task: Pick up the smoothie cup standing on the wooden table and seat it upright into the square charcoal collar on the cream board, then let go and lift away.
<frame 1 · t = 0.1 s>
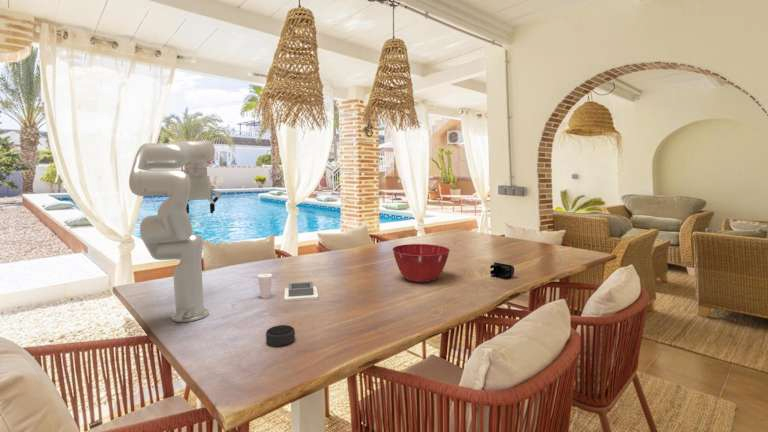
hand: (199, 213, 171), 37 cm above the table, tool pointing down, fingers open, 9 cm apart
mixing bowl: (420, 279, 202), on the table
socket board: (301, 294, 178), on the table
smart speaker: (280, 342, 129), on the table
end cap: (501, 277, 205), on the table
smoothie: (265, 297, 175), on the table
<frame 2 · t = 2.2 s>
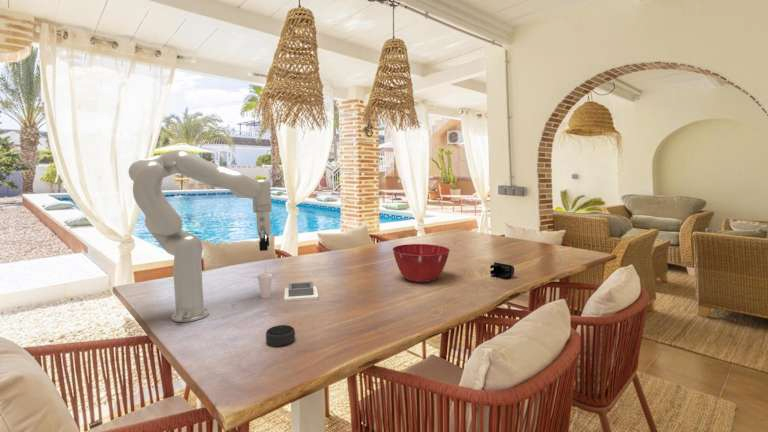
hand: (264, 248, 173), 21 cm above the table, tool pointing down, fingers open, 9 cm apart
nothing on the table moved.
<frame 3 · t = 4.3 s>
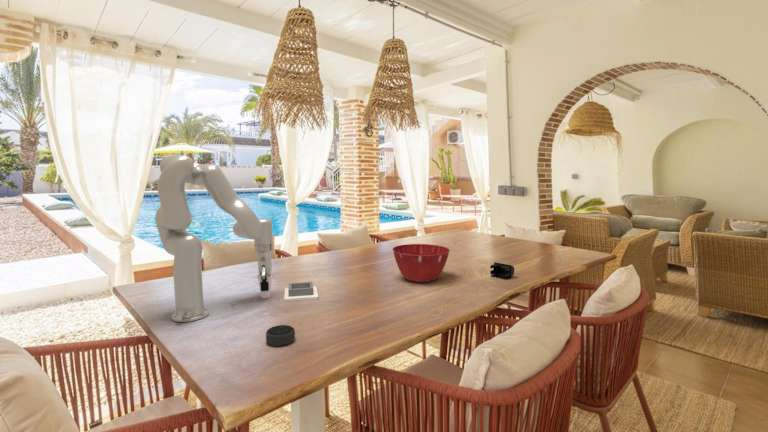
hand: (265, 288, 174), 4 cm above the table, tool pointing down, fingers closed on smoothie, 6 cm apart
smoothie: (265, 297, 175), on the table, touching gripper
everything else where it was.
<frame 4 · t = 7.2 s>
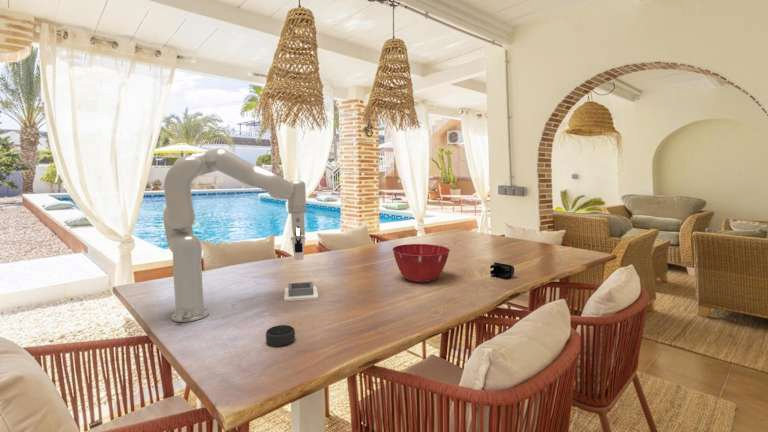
hand: (298, 250, 176), 20 cm above the table, tool pointing down, fingers closed on smoothie, 6 cm apart
smoothie: (298, 259, 176), point 16 cm above the table, touching gripper
everything else where it was.
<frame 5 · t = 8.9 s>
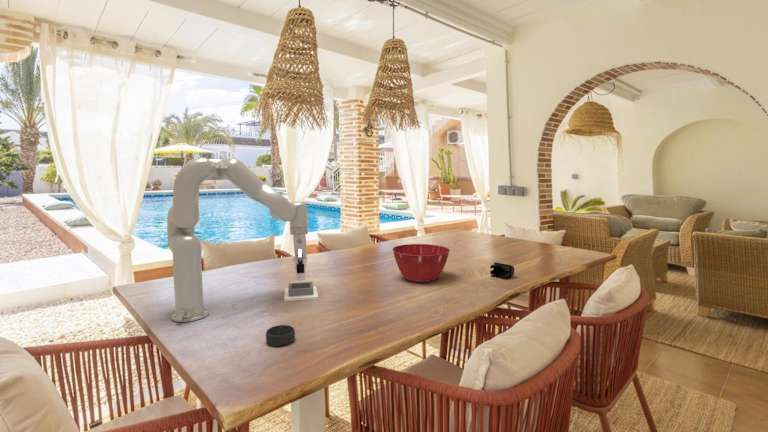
hand: (300, 270, 177), 11 cm above the table, tool pointing down, fingers closed on smoothie, 6 cm apart
smoothie: (300, 279, 177), point 7 cm above the table, touching gripper
everything else where it was.
when the fingers open (6 cm above the table, at t = 10.3 s): smoothie stays where it is, resting on socket board.
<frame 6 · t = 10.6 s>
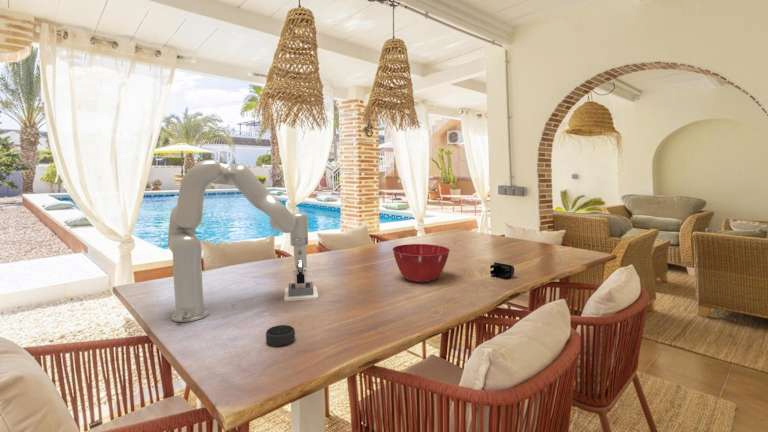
hand: (300, 280, 177), 6 cm above the table, tool pointing down, fingers open, 8 cm apart
smoothie: (300, 292, 178), point 1 cm above the table, touching socket board
everything else where it was.
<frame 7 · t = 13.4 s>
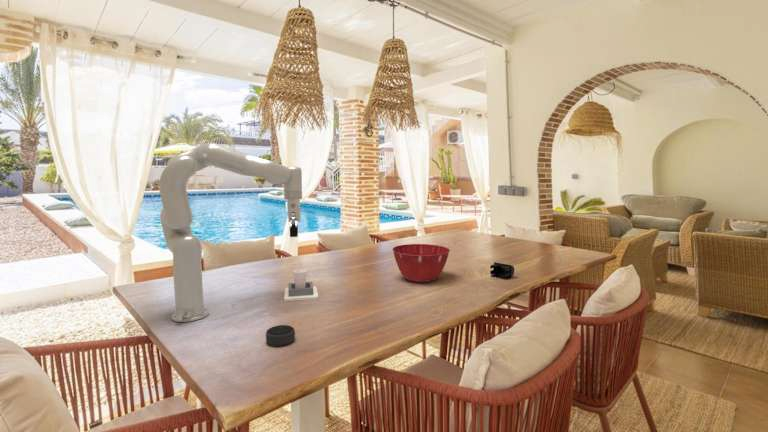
hand: (294, 235, 175), 26 cm above the table, tool pointing down, fingers open, 9 cm apart
nothing on the table moved.
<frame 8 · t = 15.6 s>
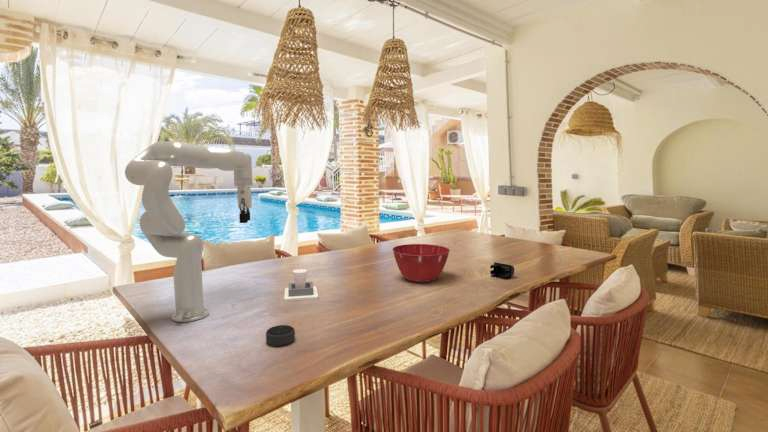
hand: (245, 221, 177), 32 cm above the table, tool pointing down, fingers open, 9 cm apart
nothing on the table moved.
at the end: smoothie 0.2 cm off-centre on the socket board, point 0.8 cm above the socket board's base; smoothie tilted 0°; the gripper is holding nothing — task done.
